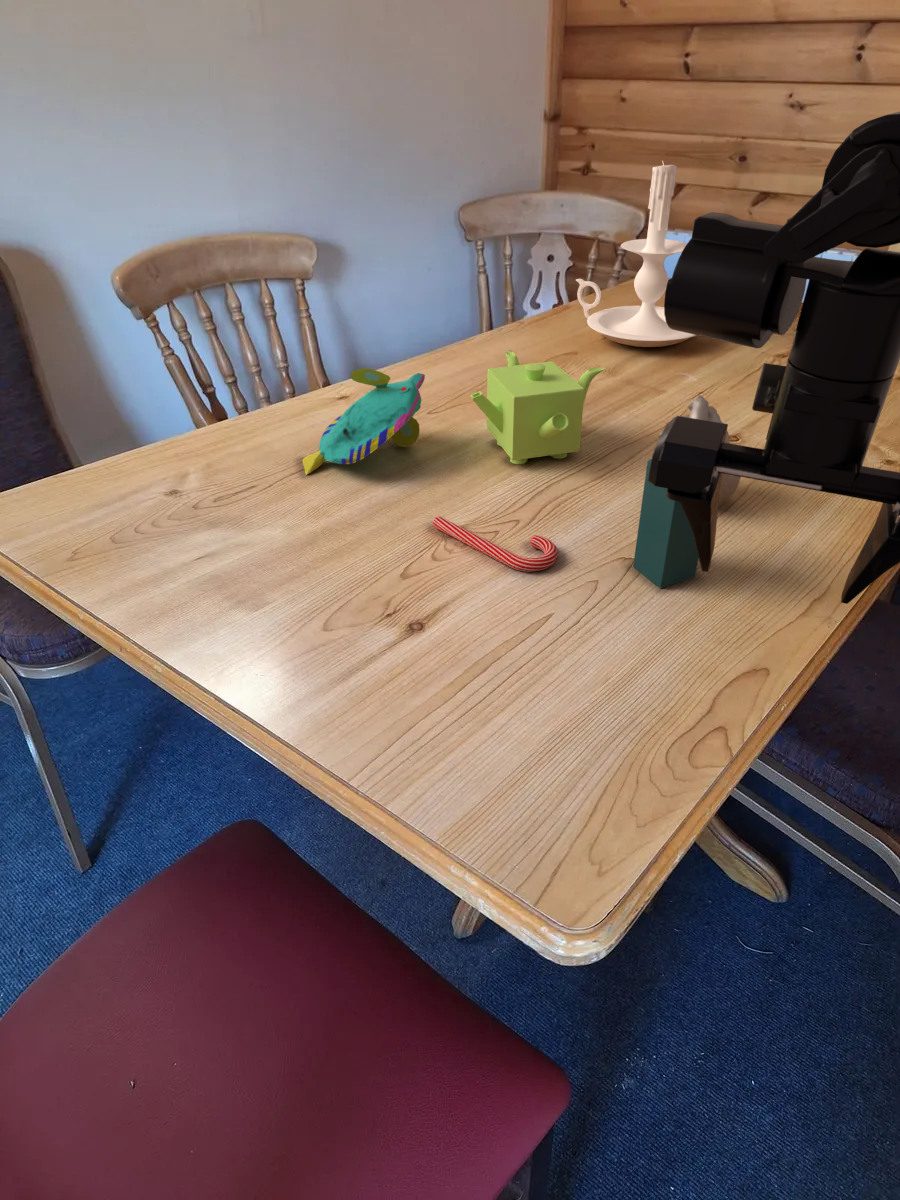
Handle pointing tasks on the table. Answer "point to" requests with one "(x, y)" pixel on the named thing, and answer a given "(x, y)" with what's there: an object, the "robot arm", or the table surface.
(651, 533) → the block
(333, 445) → the decorative fish
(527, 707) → the table surface
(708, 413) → the heart
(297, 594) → the table surface
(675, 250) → the candlestick
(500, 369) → the kettle
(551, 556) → the candy cane
